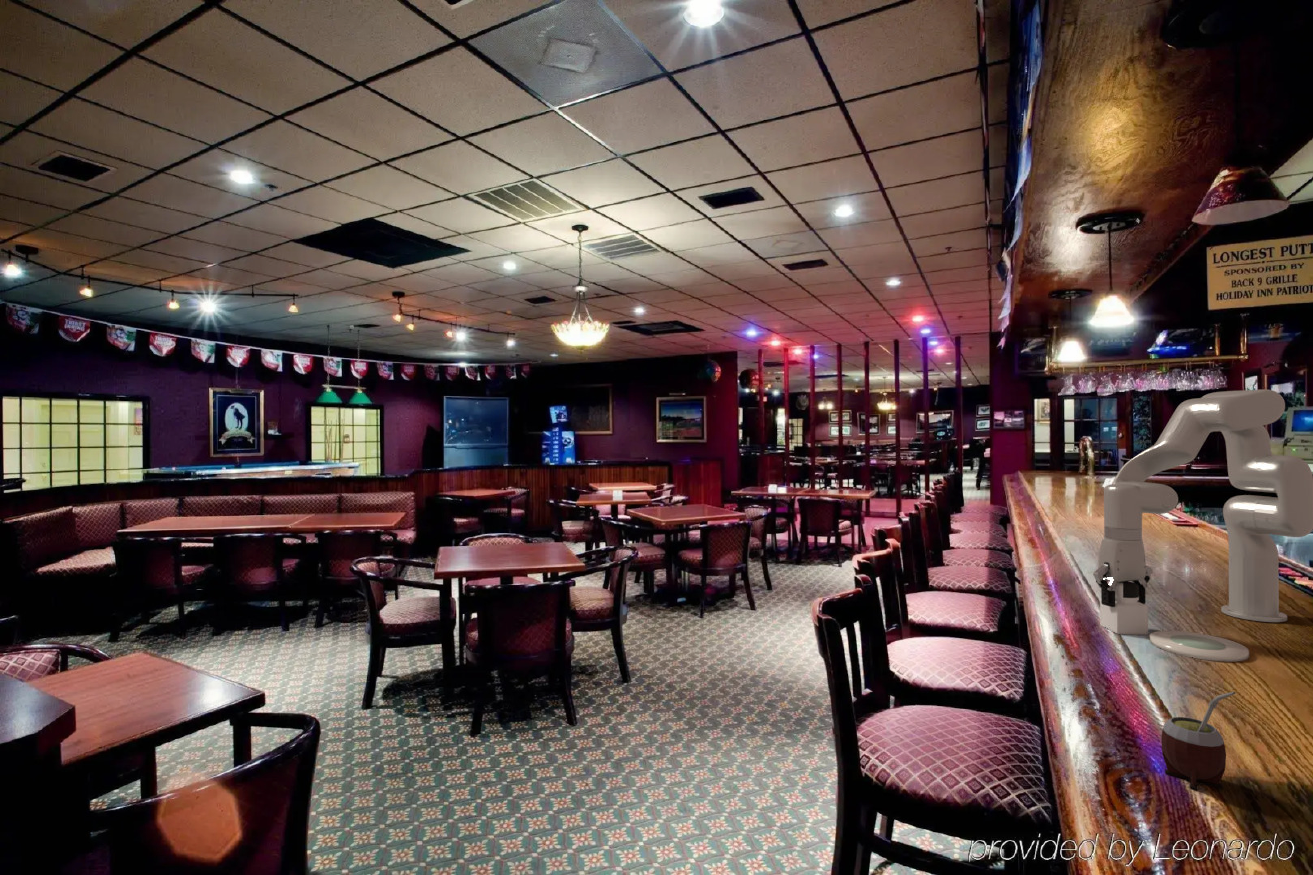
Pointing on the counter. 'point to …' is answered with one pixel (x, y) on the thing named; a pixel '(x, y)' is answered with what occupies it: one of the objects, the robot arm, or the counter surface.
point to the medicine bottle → (1125, 611)
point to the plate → (1199, 646)
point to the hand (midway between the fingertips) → (1123, 604)
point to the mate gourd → (1195, 749)
